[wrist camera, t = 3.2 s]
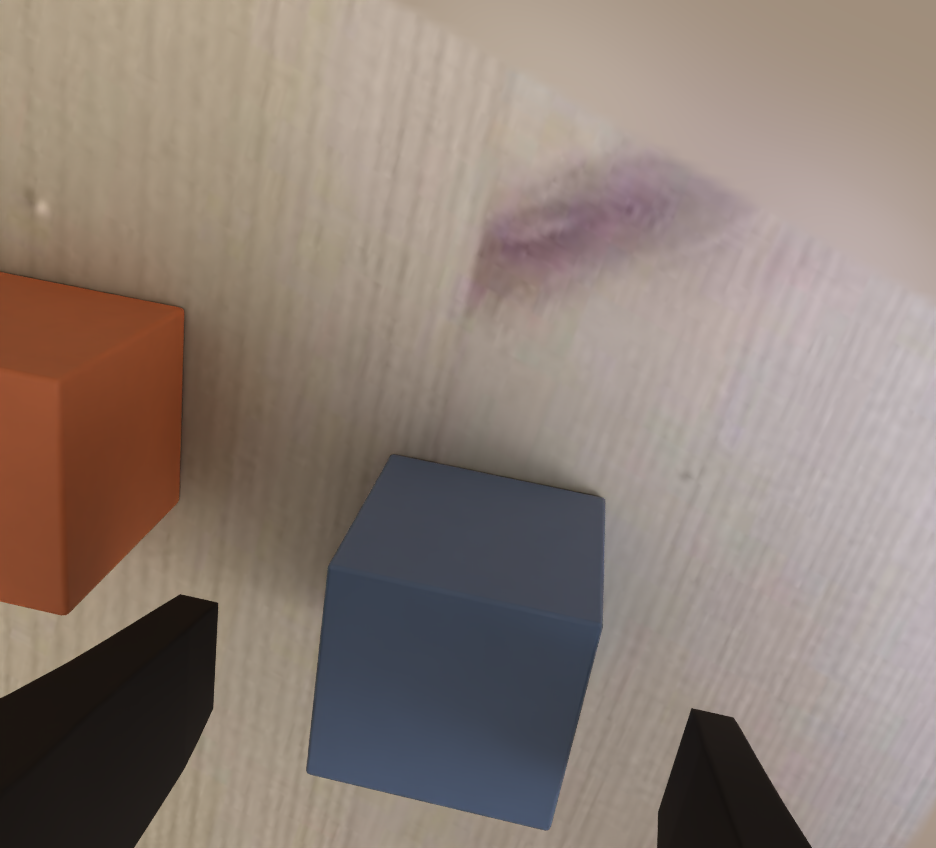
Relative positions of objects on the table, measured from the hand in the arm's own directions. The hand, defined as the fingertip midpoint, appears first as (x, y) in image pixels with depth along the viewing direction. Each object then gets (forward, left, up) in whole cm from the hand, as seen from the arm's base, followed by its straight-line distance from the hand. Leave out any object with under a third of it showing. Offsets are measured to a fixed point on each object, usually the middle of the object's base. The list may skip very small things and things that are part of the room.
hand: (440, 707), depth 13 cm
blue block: (0, 0, -4) cm, 4 cm away
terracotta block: (+8, -2, -4) cm, 9 cm away
